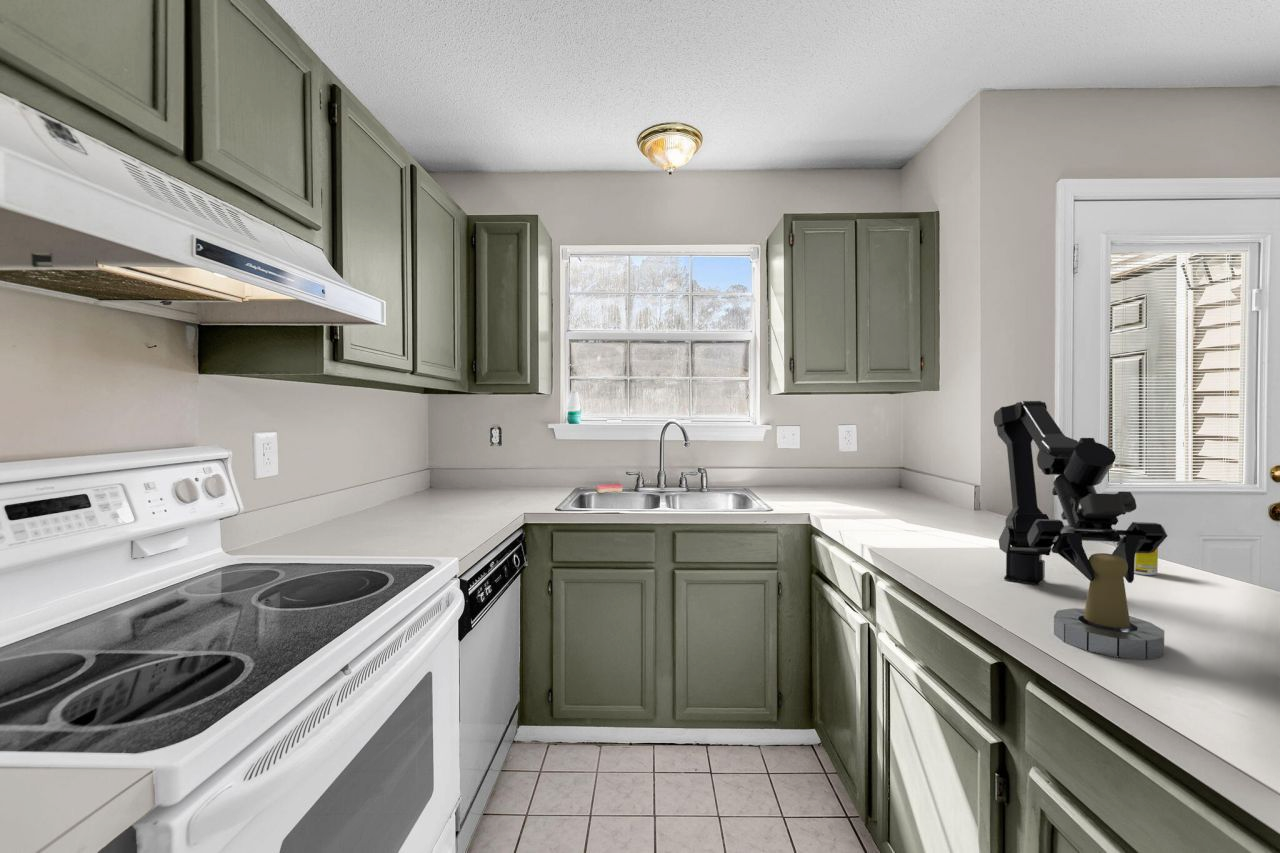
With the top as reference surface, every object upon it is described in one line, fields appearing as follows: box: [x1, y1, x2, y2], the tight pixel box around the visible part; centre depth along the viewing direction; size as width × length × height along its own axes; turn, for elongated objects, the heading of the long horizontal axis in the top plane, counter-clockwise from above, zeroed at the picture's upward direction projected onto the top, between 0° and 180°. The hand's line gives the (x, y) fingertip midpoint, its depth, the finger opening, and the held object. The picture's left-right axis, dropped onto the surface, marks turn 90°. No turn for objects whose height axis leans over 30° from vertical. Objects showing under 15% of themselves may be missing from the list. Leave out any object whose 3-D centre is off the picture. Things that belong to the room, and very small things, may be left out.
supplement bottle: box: [1134, 547, 1159, 576], centre depth 135 cm, size 6×6×10 cm
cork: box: [1084, 552, 1130, 628], centre depth 96 cm, size 6×6×11 cm
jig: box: [1053, 607, 1166, 661], centre depth 96 cm, size 14×14×3 cm
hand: (1111, 580), depth 95 cm, fingers closed on cork, 5 cm apart
